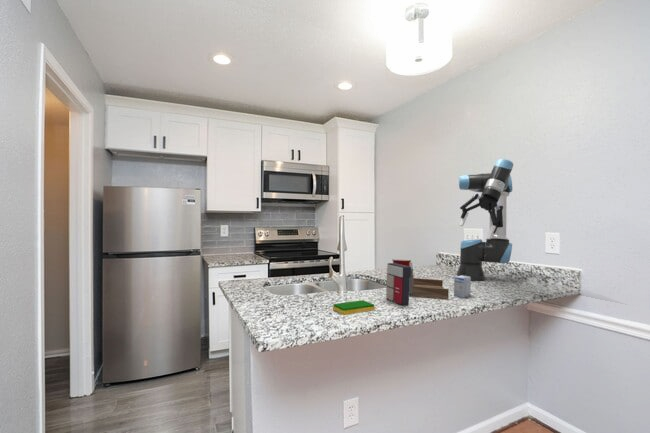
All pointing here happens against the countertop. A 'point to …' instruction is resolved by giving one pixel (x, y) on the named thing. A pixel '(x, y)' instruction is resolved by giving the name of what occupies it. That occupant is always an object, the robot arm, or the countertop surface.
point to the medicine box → (462, 286)
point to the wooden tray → (426, 287)
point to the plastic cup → (402, 261)
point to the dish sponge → (353, 307)
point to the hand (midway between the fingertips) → (474, 232)
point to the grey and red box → (398, 283)
